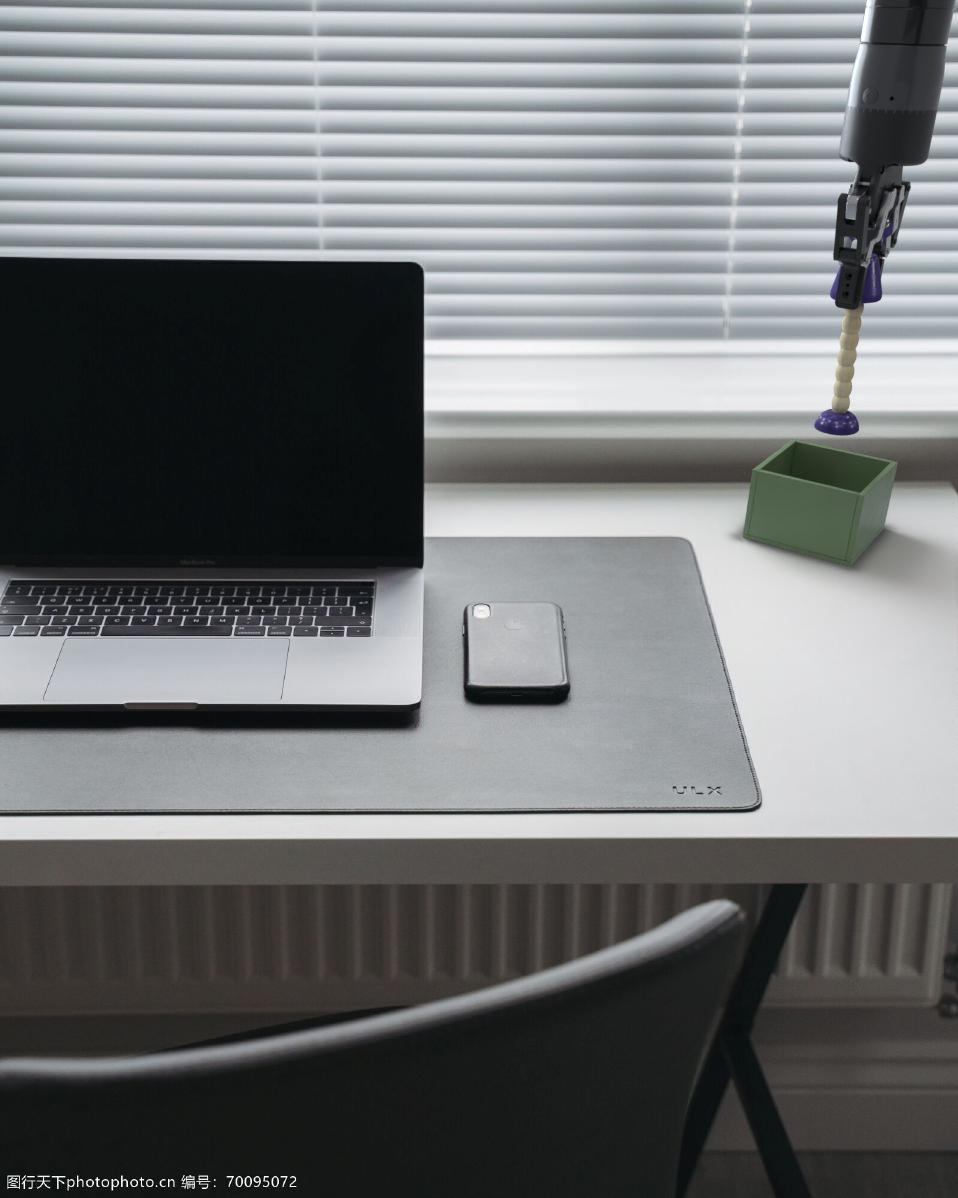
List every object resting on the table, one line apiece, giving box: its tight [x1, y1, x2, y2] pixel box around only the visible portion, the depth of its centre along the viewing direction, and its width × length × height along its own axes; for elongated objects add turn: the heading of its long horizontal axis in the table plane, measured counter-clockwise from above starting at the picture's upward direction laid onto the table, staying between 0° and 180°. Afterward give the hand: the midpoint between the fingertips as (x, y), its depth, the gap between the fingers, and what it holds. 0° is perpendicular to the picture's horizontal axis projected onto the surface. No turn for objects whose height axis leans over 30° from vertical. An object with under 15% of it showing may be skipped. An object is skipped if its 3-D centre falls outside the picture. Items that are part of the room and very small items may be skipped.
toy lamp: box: [813, 253, 883, 437], centre depth 105 cm, size 5×5×17 cm
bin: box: [742, 438, 899, 567], centre depth 113 cm, size 11×11×8 cm
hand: (856, 301), depth 103 cm, fingers closed on toy lamp, 4 cm apart
